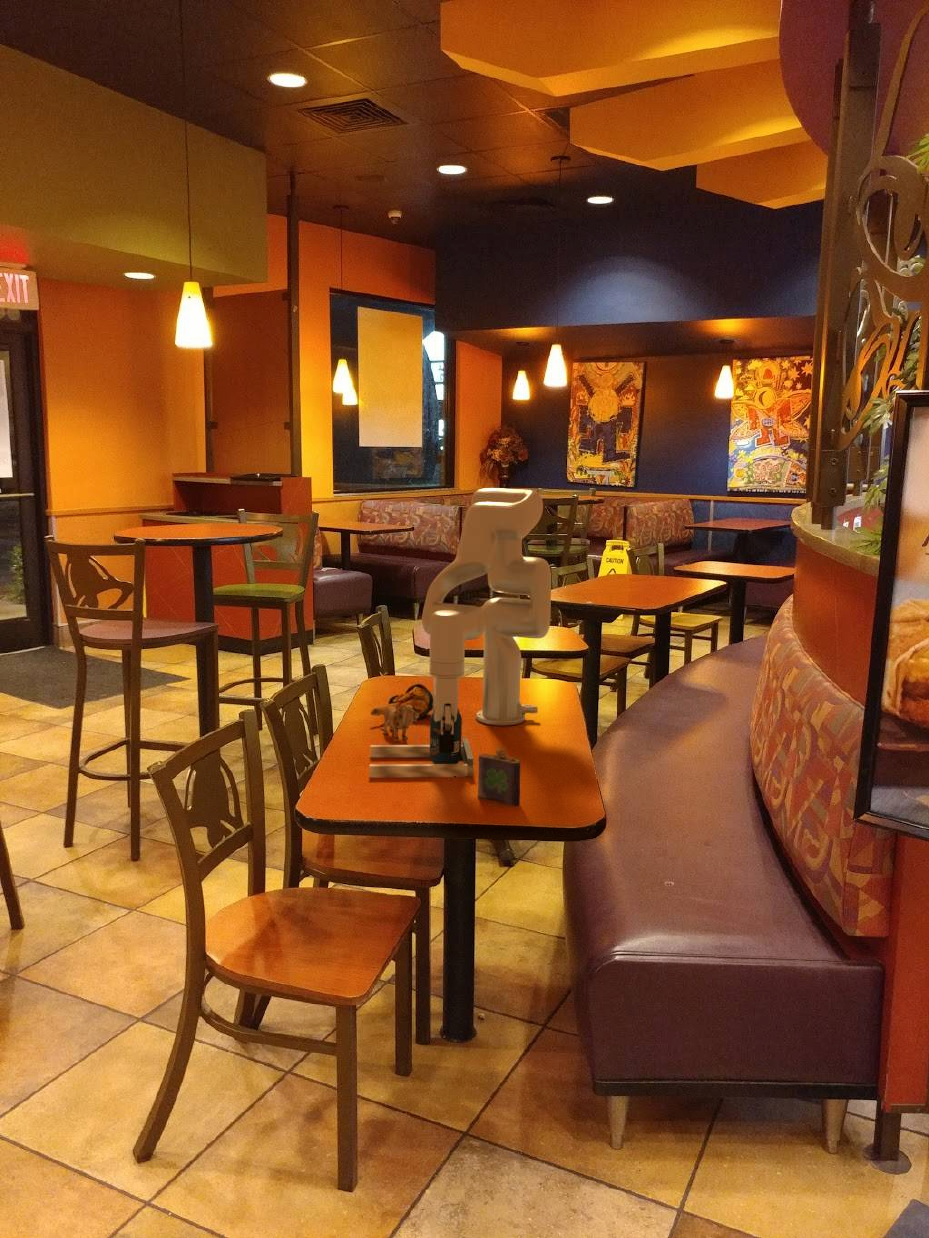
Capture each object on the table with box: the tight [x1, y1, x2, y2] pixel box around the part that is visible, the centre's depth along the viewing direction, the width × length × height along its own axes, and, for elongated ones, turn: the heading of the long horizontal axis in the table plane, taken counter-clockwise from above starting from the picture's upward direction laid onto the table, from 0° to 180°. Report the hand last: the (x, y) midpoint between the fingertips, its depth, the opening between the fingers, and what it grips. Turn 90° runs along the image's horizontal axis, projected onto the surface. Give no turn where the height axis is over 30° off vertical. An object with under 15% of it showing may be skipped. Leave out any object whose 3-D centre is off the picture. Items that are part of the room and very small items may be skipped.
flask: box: [477, 748, 521, 807], centre depth 194 cm, size 9×3×11 cm, turn 59°
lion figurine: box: [379, 705, 419, 742], centre depth 234 cm, size 15×5×9 cm, turn 36°
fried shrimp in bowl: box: [370, 683, 433, 719], centre depth 249 cm, size 9×11×18 cm
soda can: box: [429, 706, 463, 764], centre depth 213 cm, size 7×7×12 cm
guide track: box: [368, 737, 474, 779], centre depth 214 cm, size 22×14×4 cm, turn 95°
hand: (445, 745), depth 214 cm, fingers closed on soda can, 7 cm apart
